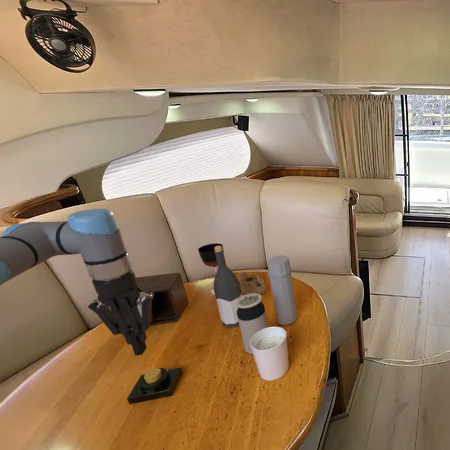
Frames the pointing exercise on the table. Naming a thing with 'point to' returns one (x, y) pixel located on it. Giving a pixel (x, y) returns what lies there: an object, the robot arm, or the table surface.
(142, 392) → the button block
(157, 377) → the button
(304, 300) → the table surface
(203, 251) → the wineglass
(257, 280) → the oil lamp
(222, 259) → the wine bottle
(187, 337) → the table surface
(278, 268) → the water bottle
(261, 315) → the travel mug
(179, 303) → the cabinet
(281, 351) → the candle holder
